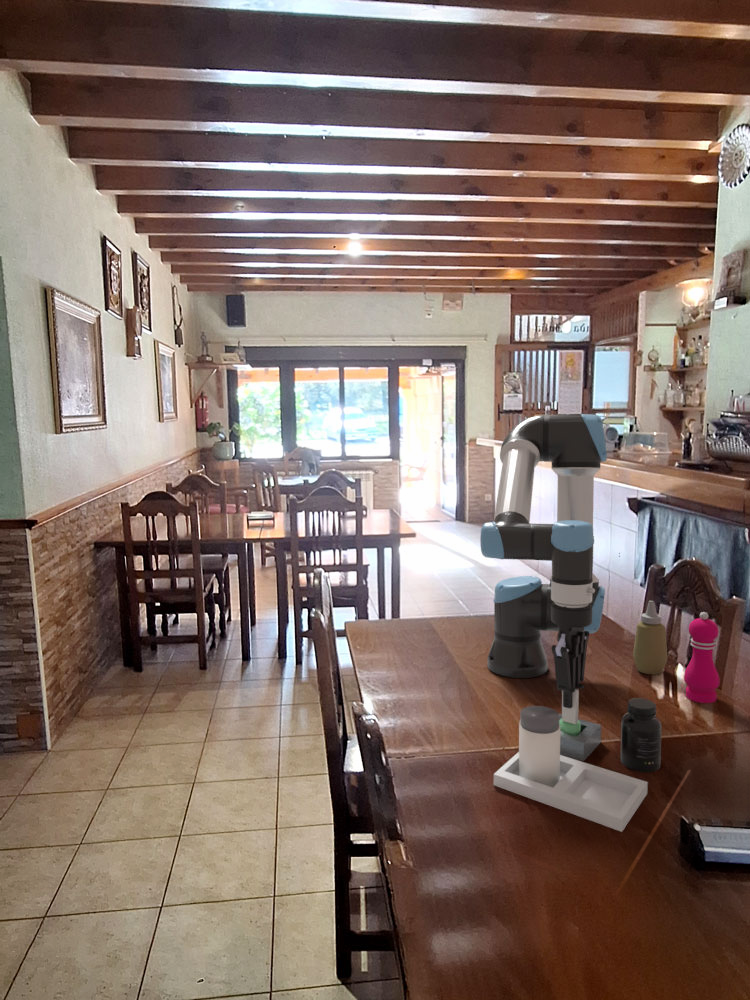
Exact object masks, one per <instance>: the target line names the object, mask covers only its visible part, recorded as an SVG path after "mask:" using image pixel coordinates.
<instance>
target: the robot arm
mask: <svg viewBox="0 0 750 1000" xmlns="http://www.w3.org/2000/svg"><path fill="white" fill-rule="evenodd" d="M605 436H606V435H605V430H604V423H603V419H602V418H601V416H599V415H597V414H591V413H590V414H588V413H573V414H571V413H570V414H552V415H551V414H546V415H545V414H539V415H534V416H530V417H528V418H526V419H524V420H522V421H521V422H519V423H518V424H516V425H514V427H513V428H512V429H511V430H510V431H509V432H508V434H506V436H505V438H504V439H503V441H502V443H501V446H500V447H501V448H500V452H499V459H500V462H501V464H502V466H501V470H500V471H501V472H500V478H499V485H498V490H497V491H498V492H497V497H496V503H495V505H496V506H495V510H494V516H493V521H489V522H484V523H483V524H482V526H481V530H480V551H481V554H482V556H483V557H485V558H487V559H488V558H490V559H497V560H519V561H520V560H527V561H528V560H531V561H546V562H547V561H550V562H551V576H549V584H548V583H545V584H544V583H542V580H541V578H540V577H538V576H532V575H523V576H514V577H509V578H505V579H502V580H501V581H498V582H497V583H496V585H495V587H494V595H493V596H494V597H493V603H494V608H493V609H494V618H493V619H494V623H493V624H494V630H493V631H494V635H493V637H494V638H493V640H492V643H491V647H490V649H489V653H488V655H487V668H488V670H489V671H491V672H492V673H495V674H497V675H499V676H503V677H507V678H514V679H530V678H535V677H539V676H542V675H544V674H546V673H547V671H548V659H547V655H546V652H545V649H544V646H543V643H542V636H541V631H542V632H543V631H545V632H558V633H557V644H556V645H555V644H552V646H551V654H553V662H554V671H555V682H556V690H559V691H561V714H562V721H564V722H568V723H571V724H576V723H577V722H578V719H579V702H580V701H579V700H580V699H579V698H580V697H579V695H580V694H579V693H580V692H579V689H581V690H583V689H584V688H585V684H582V682H584V680H585V670H586V660H587V649H588V642H589V638H590V634H594V633H596V632H598V631H599V629H600V628H601V627H600V626H601V621H602V617H603V610H604V602H605V595H606V594H605V593H606V592H605V591H606V590H605V587H603V586H602V585H600V582H599V580H600V579H599V578H598V576H596V575H595V573H593V572H594V571H593V570H594V544H595V536H594V492H595V491H594V489H595V480H594V479H595V475H596V474H597V473H598V472H599V471H600V470H601V463H604V462H607V460H608V459H607V458H608V457H607V456H608V455H607V445H606V437H605ZM539 462H547V463H548V462H549V463H551V470H552V471H553V472H554V473H555V474H556V475H557V493H556V494H557V498H556V499H557V500H556V502H557V503H556V504H557V506H556V508H557V509H556V510H557V511H556V521H555V522H554V523H530V521H531V520H530V519H531V512H532V511H531V510H532V501H533V500H532V498H533V487H534V478H535V467H536V466H538V464H539ZM599 585H600V586H599Z"/></svg>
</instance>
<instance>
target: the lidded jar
mask: <svg viewBox="0 0 750 1000" xmlns="http://www.w3.org/2000/svg"><path fill="white" fill-rule="evenodd" d="M559 714H560V713H559V712H558V711H557V710H556V709H553V708H551V707H547V706H543V705H530V706H525V707H523V708H522V709H521V710H520V717H519V722H518V723H519V724H518V752H519V776H520V777H523V778H526V779H529V780H532V781H535V782H538V783H540V784H543V785H546V786H549V787H552V788H553V787H554V786H555V785H556V784H557V783H558V782H559V781H560V755H561V754H560V724H559Z"/></svg>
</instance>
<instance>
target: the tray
mask: <svg viewBox="0 0 750 1000" xmlns="http://www.w3.org/2000/svg"><path fill="white" fill-rule="evenodd" d="M648 785H649V781H645V780H643V779H640V778H636V777H632V776H629V775H626V774H623V773H620V772H616V771H613V770H610V769H607V768H603V767H600V766H596V765H594V764H591V763H588V762H585V761H581V760H578V759H575V758H571V757H568V756H565V755H562V754H560V781H559V782H558V783H557V784H556V785H555V786H554V787H553V788H552V787H549V786H546V785H543V784H540V783H538V782H535V781H532V780H529V779H526V778H523V777H520V776H519V751H518V752H516V754H515V755H513V756H512V757H511V758H510V759H508V761H506V762H505V763H504V764H503V765H502V766H501V767H500V768H499V769H497V771H495V772H494V773H493V786H495V787H498V788H500V789H503V790H506V791H509V792H511V793H514V794H517V795H520V796H522V797H525V798H528V799H530V800H533V801H536V802H539V803H542V804H544V805H548V806H550V807H553V808H555V809H558V810H561V811H563V812H567V813H568V814H573V815H575V816H577V817H580V818H582V819H585V820H588V821H591V822H594V823H596V824H600V825H602V826H604V827H607V828H610V829H613V830H615V831H619V832H621V833H622V832H623V831H624V830H625V828H626V826H627V824H629V822H630V820H632V817H633V816H634V815H635V813H636V811H637V810H638V809H639V807H640V806H641V804H642V803H643V801H644V800H645V798H646V796H647V795H648V787H649V786H648Z"/></svg>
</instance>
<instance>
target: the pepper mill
mask: <svg viewBox="0 0 750 1000" xmlns="http://www.w3.org/2000/svg"><path fill="white" fill-rule="evenodd" d="M719 633H720V632H719V628H718V625H717V624H716V622H714V621H713V620H711V619H709V614H708V612H705V611H703V612H702V611H701V612H700V614H699V617H698V618H694V619H693V620H692V621H691V622H690V623H689V625H688V634H689V635H690V637H691V638H690V646H692V656H691V659H690V661H689V663H688V665H687V667H686V668H685V670H684V675H683V680H684V682H685V684H686V685H687V686H686V688H685V696H686V698H687V699H688V700H690V701H693V702H695V703H700V704H712V703H715V702H716V701H717V697H718V696H717V691H716V689H718V687H720V683H721V682H720V676H719V672H718V669H717V668H716V666H715V663H714V658H713V657H714V656H713V653H714V649H715V648H716V639H717V638H718V636H719Z"/></svg>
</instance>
